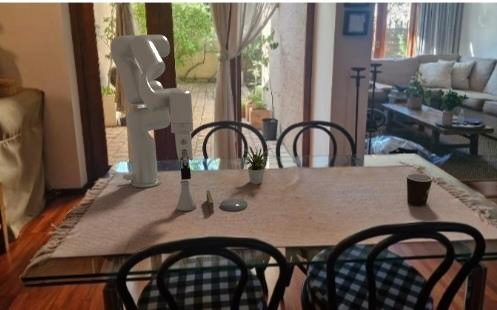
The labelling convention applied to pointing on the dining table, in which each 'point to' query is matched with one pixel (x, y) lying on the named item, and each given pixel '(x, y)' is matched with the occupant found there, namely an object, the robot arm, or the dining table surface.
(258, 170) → the house plant
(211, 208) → the wooden plank
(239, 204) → the grey flat disc
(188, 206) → the flask
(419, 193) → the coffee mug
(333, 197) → the dining table surface
